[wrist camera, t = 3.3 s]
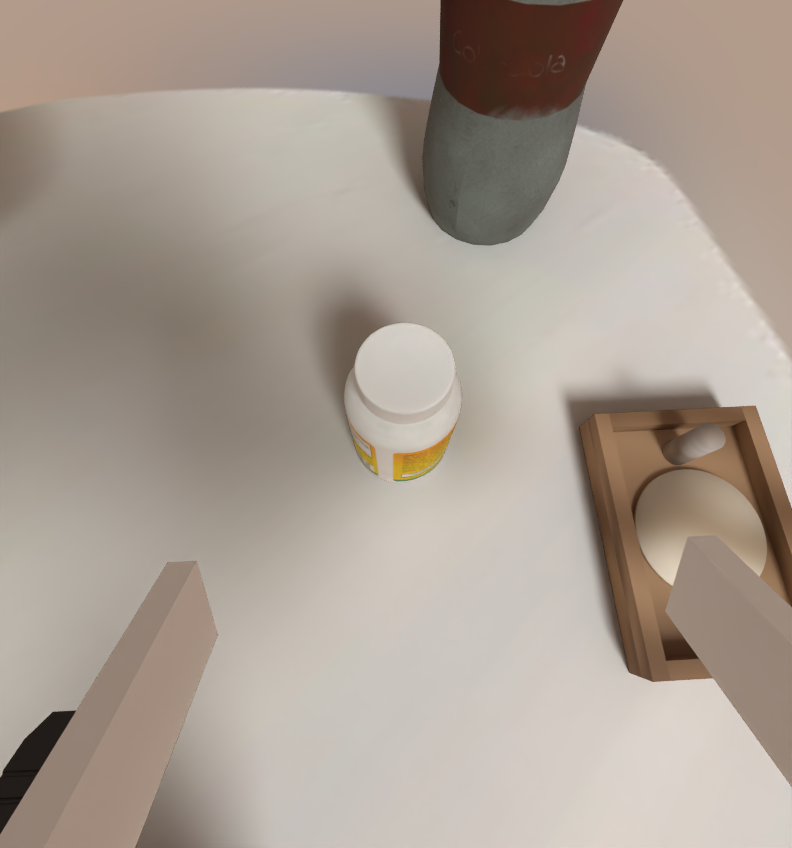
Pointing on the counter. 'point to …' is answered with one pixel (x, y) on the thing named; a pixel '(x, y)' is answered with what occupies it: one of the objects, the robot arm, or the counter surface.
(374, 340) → the supplement bottle
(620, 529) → the pin tray
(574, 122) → the vodka
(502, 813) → the counter surface
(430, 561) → the counter surface
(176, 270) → the counter surface
